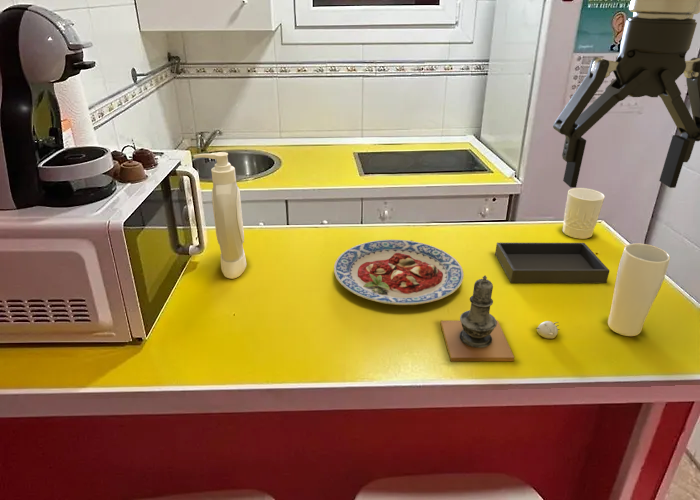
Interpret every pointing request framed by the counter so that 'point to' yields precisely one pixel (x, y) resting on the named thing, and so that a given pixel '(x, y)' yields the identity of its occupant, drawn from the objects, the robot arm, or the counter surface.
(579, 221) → the white cup
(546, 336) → the cream rounded lump
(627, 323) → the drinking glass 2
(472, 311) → the salt shaker
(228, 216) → the soap bottle
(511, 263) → the tray
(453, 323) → the cork mat
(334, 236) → the counter surface
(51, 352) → the counter surface
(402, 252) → the ceramic plate
